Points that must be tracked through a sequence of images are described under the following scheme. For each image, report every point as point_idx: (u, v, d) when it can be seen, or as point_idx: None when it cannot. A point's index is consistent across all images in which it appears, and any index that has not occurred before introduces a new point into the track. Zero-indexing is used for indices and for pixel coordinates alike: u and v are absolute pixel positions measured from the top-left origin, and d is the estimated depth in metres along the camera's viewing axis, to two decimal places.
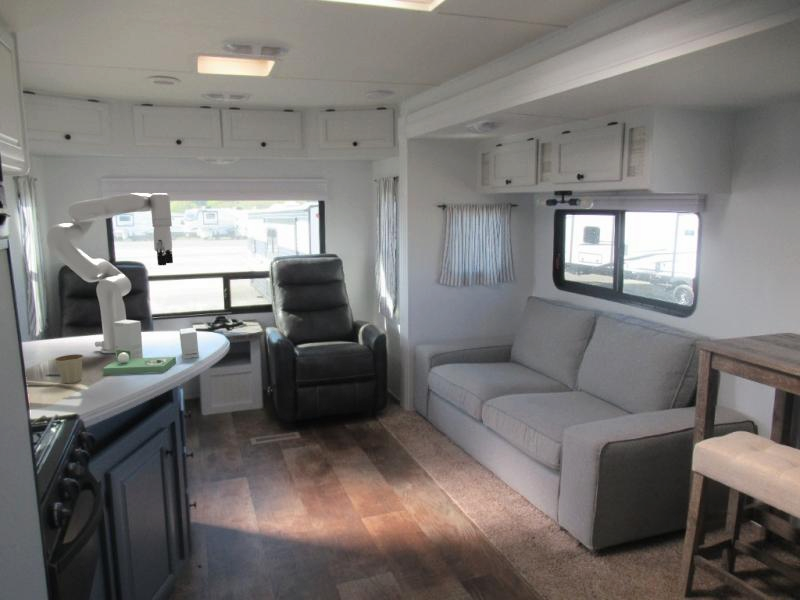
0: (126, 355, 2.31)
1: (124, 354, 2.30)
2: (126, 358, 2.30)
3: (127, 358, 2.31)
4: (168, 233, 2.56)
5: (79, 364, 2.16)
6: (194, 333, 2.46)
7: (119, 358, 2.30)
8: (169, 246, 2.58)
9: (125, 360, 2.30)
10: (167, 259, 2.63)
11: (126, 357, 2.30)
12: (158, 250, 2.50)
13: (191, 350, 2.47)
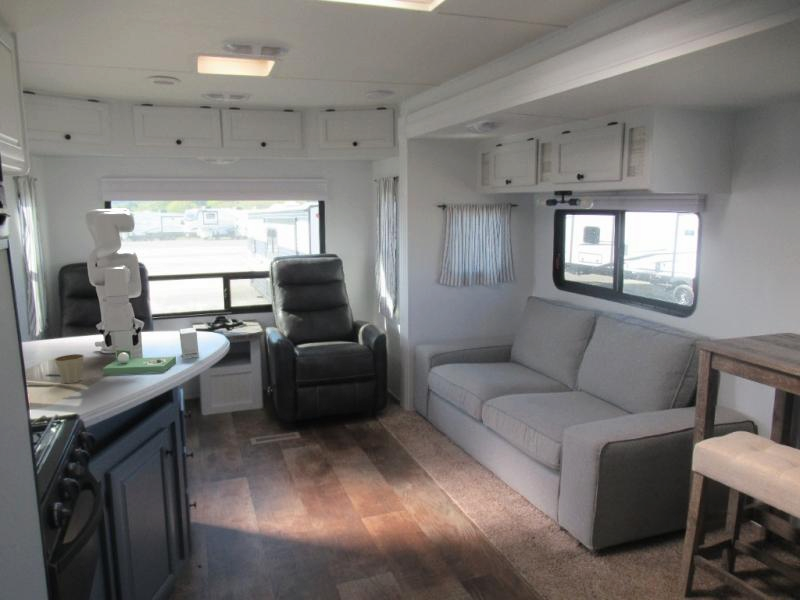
0: (126, 355, 2.31)
1: (124, 354, 2.30)
2: (126, 358, 2.30)
3: (127, 358, 2.31)
4: None
5: (79, 364, 2.16)
6: (194, 333, 2.46)
7: (119, 358, 2.30)
8: None
9: (125, 360, 2.30)
10: (109, 342, 2.29)
11: (126, 357, 2.30)
12: (142, 327, 2.30)
13: (191, 350, 2.47)
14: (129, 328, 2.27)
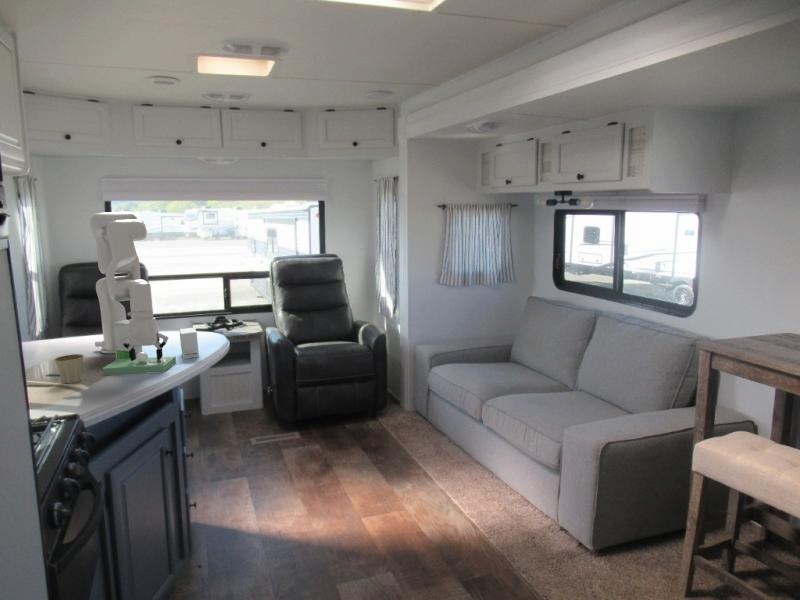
0: (137, 359, 2.31)
1: (138, 360, 2.31)
2: None
3: (137, 356, 2.31)
4: None
5: (79, 364, 2.16)
6: (194, 333, 2.46)
7: (142, 359, 2.30)
8: None
9: (138, 355, 2.30)
10: (133, 356, 2.31)
11: None
12: None
13: (191, 350, 2.47)
14: (153, 343, 2.29)
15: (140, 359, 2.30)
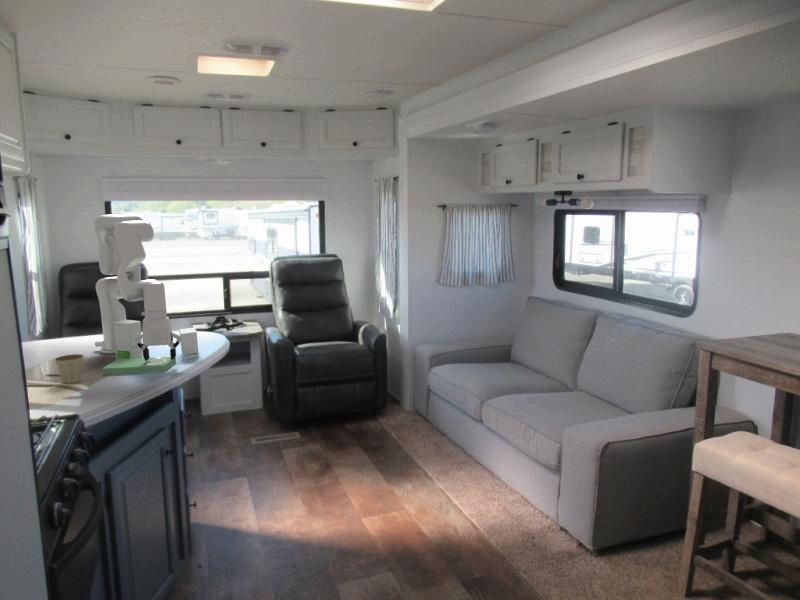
0: None
1: (161, 360, 2.32)
2: None
3: None
4: None
5: (79, 364, 2.16)
6: (194, 333, 2.46)
7: (155, 361, 2.31)
8: None
9: None
10: (147, 355, 2.31)
11: None
12: (179, 342, 2.32)
13: (191, 350, 2.47)
14: (167, 342, 2.29)
15: (156, 362, 2.31)
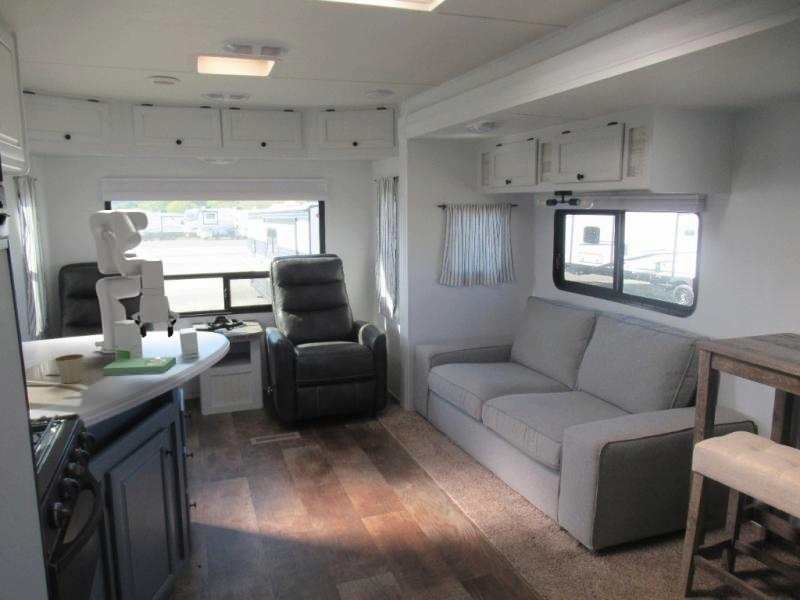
0: (161, 361, 2.32)
1: (160, 359, 2.32)
2: None
3: None
4: None
5: (79, 364, 2.16)
6: (194, 333, 2.46)
7: (154, 361, 2.31)
8: None
9: None
10: (144, 332, 2.31)
11: (160, 362, 2.32)
12: (177, 319, 2.31)
13: (191, 350, 2.47)
14: (165, 320, 2.28)
15: (155, 361, 2.31)
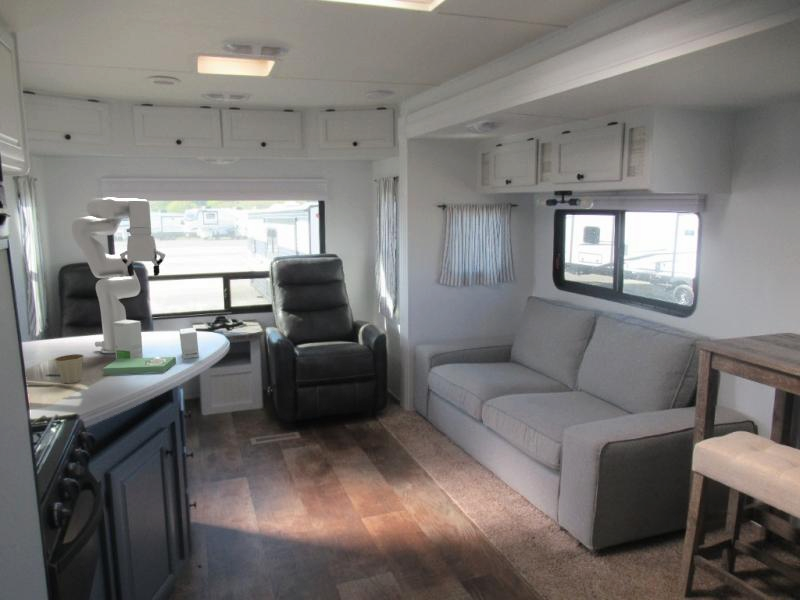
0: (161, 360, 2.32)
1: (159, 359, 2.32)
2: None
3: None
4: None
5: (79, 364, 2.16)
6: (194, 333, 2.46)
7: (153, 361, 2.31)
8: None
9: None
10: (131, 271, 2.40)
11: (160, 361, 2.32)
12: None
13: (191, 350, 2.47)
14: (151, 259, 2.38)
15: (155, 361, 2.31)
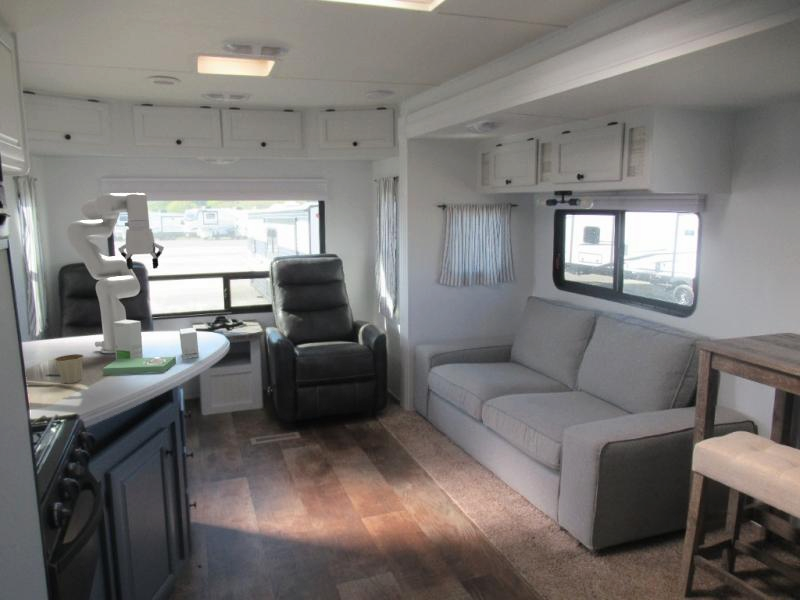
0: (160, 360, 2.32)
1: (159, 358, 2.32)
2: (159, 362, 2.32)
3: None
4: None
5: (79, 364, 2.16)
6: (194, 333, 2.46)
7: (153, 361, 2.31)
8: None
9: None
10: (130, 265, 2.43)
11: (159, 361, 2.32)
12: (161, 252, 2.43)
13: (191, 350, 2.47)
14: (150, 251, 2.40)
15: (154, 361, 2.31)
